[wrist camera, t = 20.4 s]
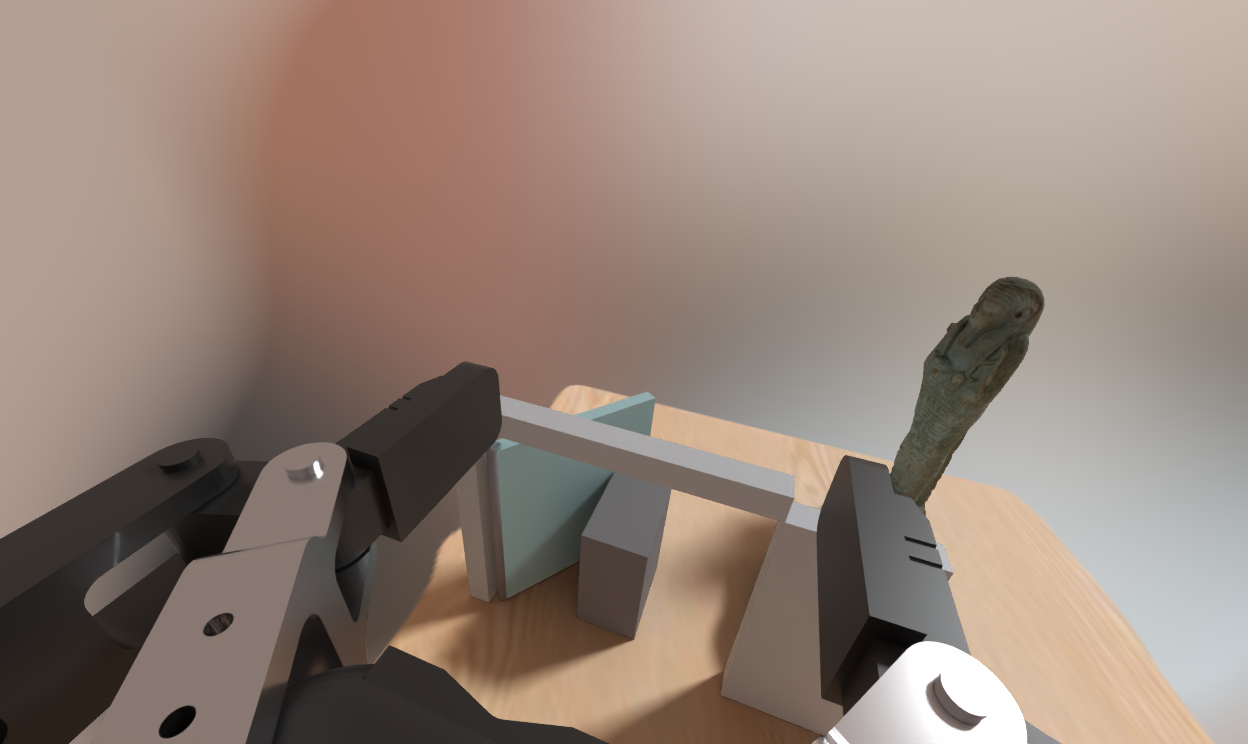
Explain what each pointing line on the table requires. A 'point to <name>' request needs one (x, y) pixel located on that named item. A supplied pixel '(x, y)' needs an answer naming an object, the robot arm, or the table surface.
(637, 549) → the doorstop block
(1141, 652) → the table surface
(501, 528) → the door
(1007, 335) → the figurine
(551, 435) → the wall frame
